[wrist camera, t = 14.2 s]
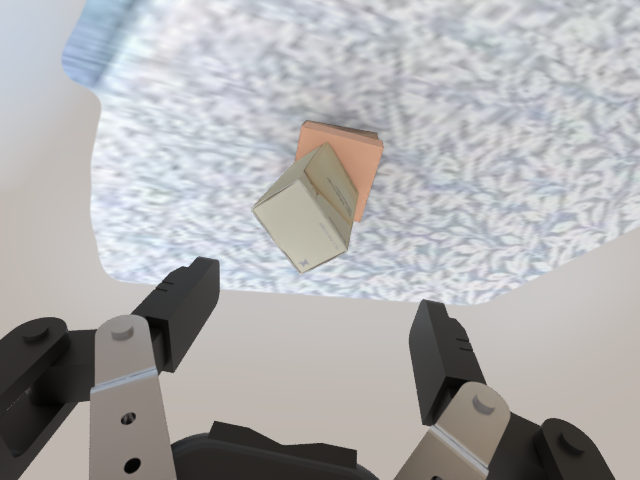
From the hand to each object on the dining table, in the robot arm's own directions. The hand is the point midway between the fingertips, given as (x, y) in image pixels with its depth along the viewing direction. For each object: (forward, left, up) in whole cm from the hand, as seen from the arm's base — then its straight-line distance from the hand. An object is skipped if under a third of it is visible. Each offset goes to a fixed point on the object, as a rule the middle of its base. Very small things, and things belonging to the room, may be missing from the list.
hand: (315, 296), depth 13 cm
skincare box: (+2, +2, -22) cm, 22 cm away
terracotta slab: (+1, +2, -25) cm, 25 cm away
